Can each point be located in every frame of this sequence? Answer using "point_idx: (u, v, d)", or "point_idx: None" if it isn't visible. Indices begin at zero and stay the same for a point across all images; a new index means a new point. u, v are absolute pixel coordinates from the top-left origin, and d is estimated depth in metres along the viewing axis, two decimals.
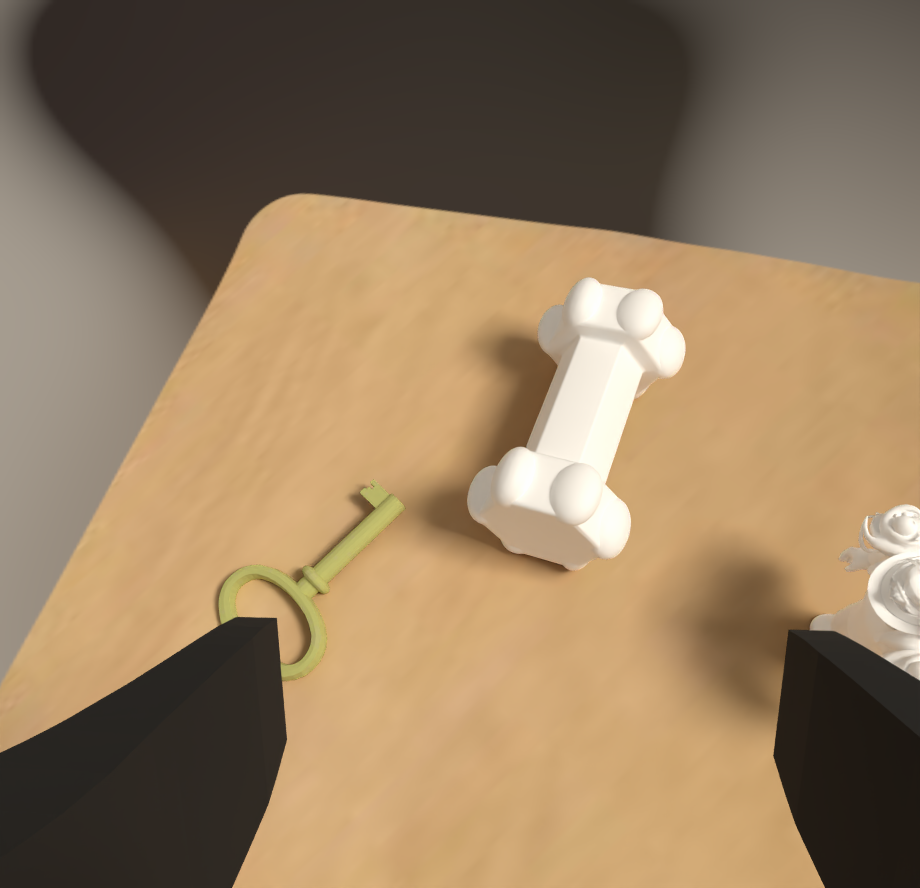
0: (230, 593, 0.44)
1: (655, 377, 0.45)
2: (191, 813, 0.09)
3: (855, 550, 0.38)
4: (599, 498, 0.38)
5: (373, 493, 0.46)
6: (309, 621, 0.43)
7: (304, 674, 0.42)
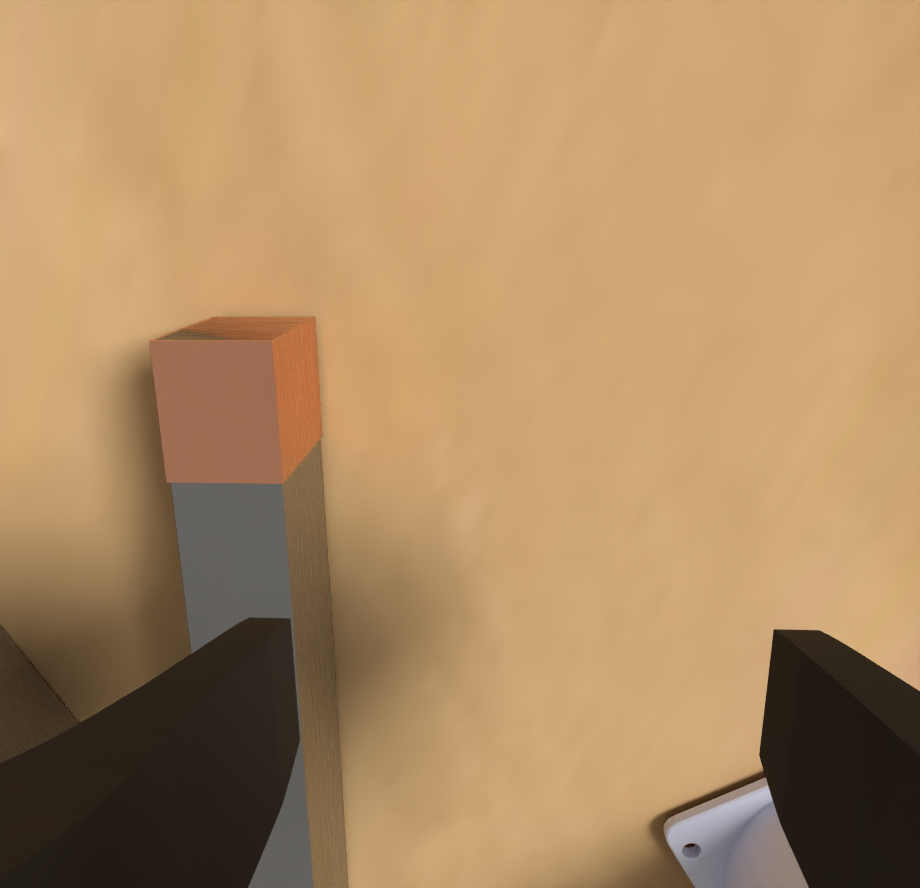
0: None
1: None
2: (209, 814, 0.09)
3: None
4: None
5: None
6: None
7: None
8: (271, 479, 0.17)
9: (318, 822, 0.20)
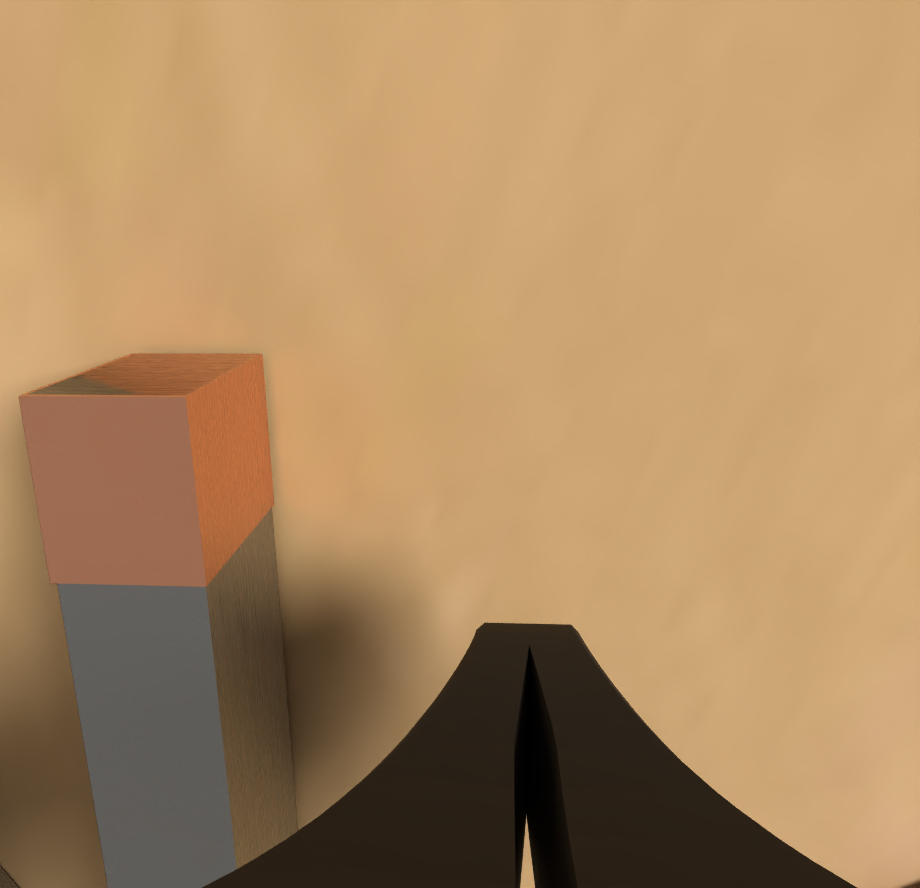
0: None
1: None
2: (516, 826, 0.08)
3: None
4: None
5: None
6: None
7: None
8: (190, 580, 0.12)
9: None
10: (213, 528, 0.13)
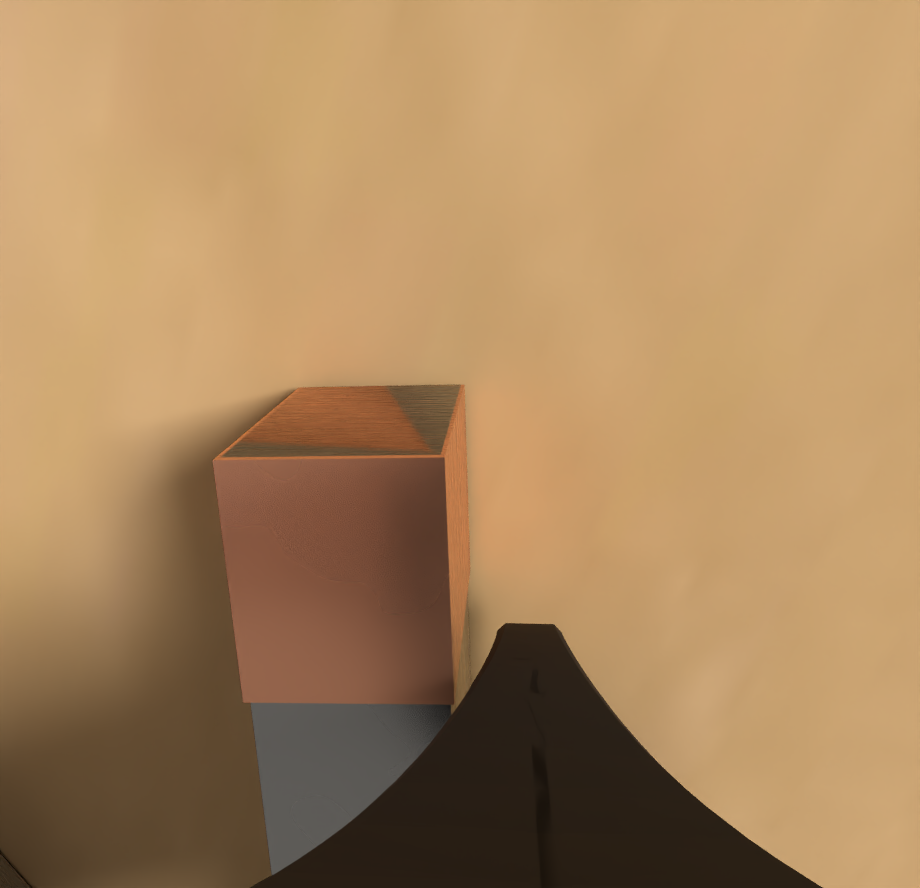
0: None
1: None
2: None
3: None
4: None
5: None
6: None
7: None
8: (432, 696, 0.09)
9: None
10: (455, 624, 0.09)
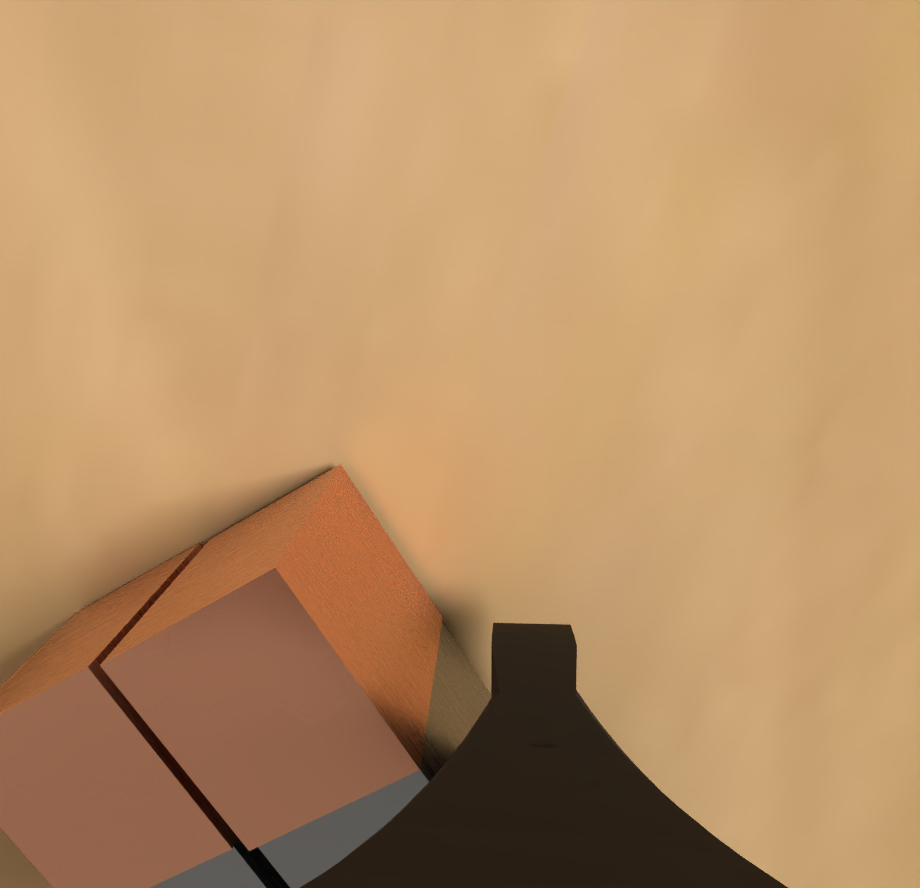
0: None
1: None
2: None
3: None
4: None
5: None
6: None
7: None
8: (398, 771, 0.09)
9: None
10: (391, 695, 0.10)
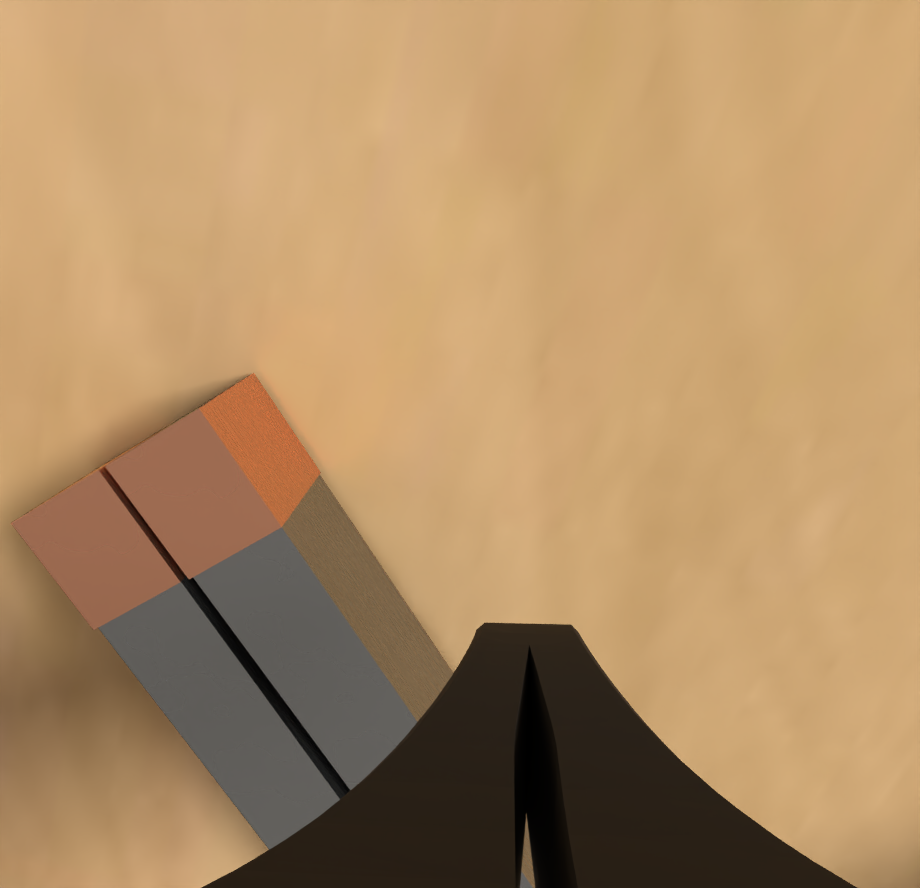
0: None
1: None
2: (516, 825, 0.08)
3: None
4: None
5: None
6: None
7: None
8: (270, 528, 0.17)
9: None
10: (268, 489, 0.17)
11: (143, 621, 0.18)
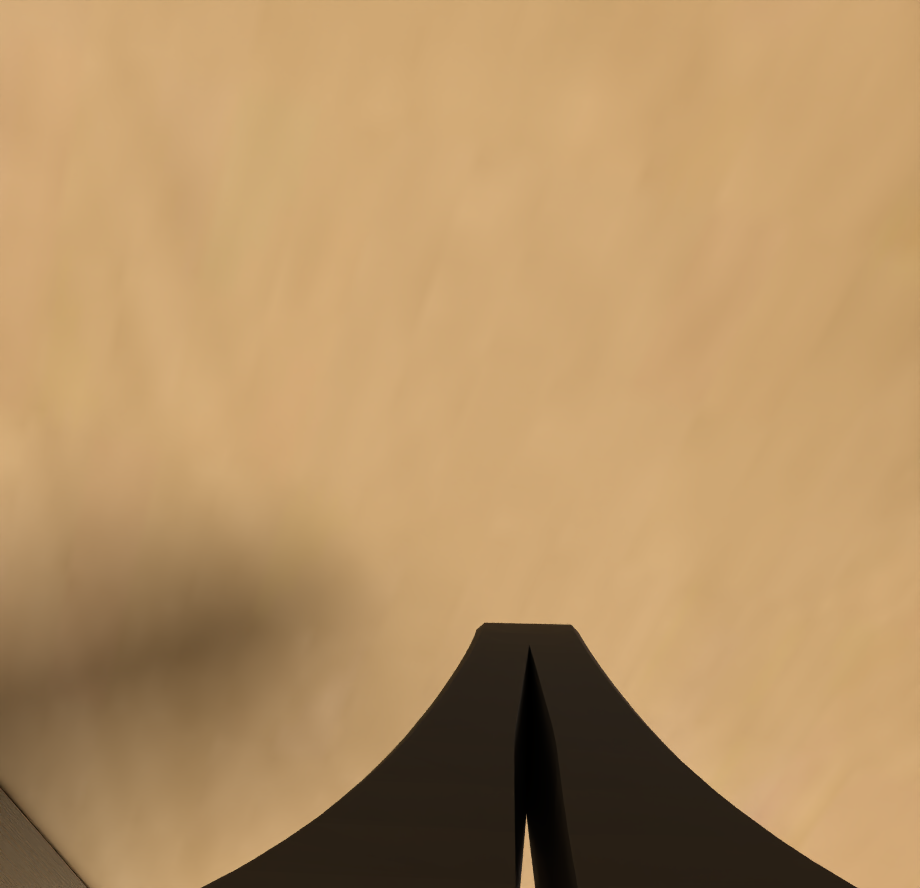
0: None
1: None
2: (516, 825, 0.08)
3: None
4: None
5: None
6: None
7: None
8: None
9: None
10: None
11: None
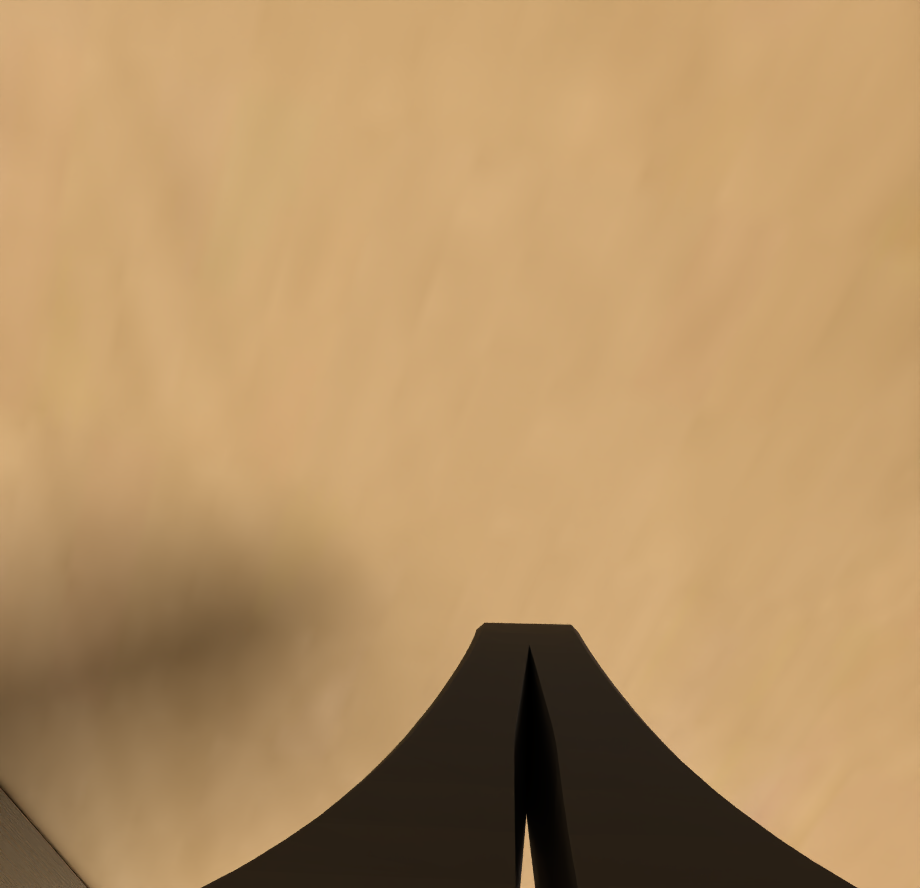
0: None
1: None
2: (516, 825, 0.08)
3: None
4: None
5: None
6: None
7: None
8: None
9: None
10: None
11: None
